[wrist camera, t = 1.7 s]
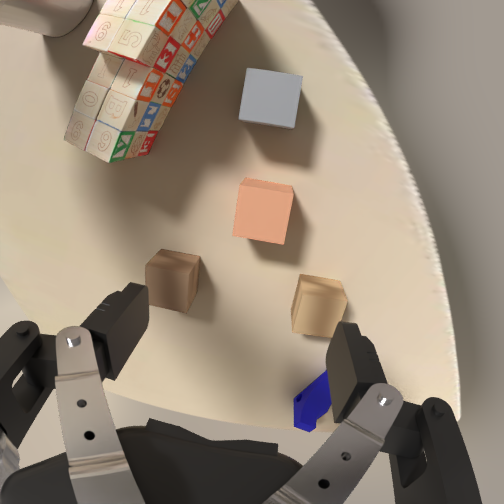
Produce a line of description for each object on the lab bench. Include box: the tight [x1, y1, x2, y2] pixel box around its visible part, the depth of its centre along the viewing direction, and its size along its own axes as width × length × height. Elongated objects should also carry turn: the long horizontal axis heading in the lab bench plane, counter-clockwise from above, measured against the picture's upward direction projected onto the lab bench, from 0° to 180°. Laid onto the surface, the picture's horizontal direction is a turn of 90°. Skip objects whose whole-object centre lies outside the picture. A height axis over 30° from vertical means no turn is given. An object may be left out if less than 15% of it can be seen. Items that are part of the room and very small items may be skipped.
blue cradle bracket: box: [294, 370, 332, 432], centre depth 39 cm, size 12×4×6 cm, turn 147°
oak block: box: [291, 274, 348, 338], centre depth 34 cm, size 5×5×5 cm
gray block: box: [239, 68, 303, 130], centre depth 26 cm, size 5×5×5 cm
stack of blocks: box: [64, 0, 239, 163], centre depth 22 cm, size 21×6×12 cm, turn 151°
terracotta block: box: [232, 178, 294, 245], centre depth 30 cm, size 5×5×5 cm
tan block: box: [145, 249, 200, 313], centre depth 34 cm, size 5×5×5 cm
